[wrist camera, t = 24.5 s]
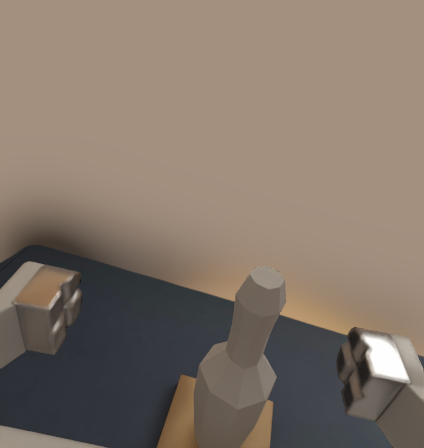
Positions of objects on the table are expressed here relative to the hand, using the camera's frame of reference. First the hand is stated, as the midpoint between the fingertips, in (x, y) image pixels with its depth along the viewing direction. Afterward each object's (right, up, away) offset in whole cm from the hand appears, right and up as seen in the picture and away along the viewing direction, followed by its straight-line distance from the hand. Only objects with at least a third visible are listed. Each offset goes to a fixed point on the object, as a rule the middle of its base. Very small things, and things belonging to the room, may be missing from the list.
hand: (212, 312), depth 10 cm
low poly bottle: (+1, -19, +25) cm, 32 cm away
